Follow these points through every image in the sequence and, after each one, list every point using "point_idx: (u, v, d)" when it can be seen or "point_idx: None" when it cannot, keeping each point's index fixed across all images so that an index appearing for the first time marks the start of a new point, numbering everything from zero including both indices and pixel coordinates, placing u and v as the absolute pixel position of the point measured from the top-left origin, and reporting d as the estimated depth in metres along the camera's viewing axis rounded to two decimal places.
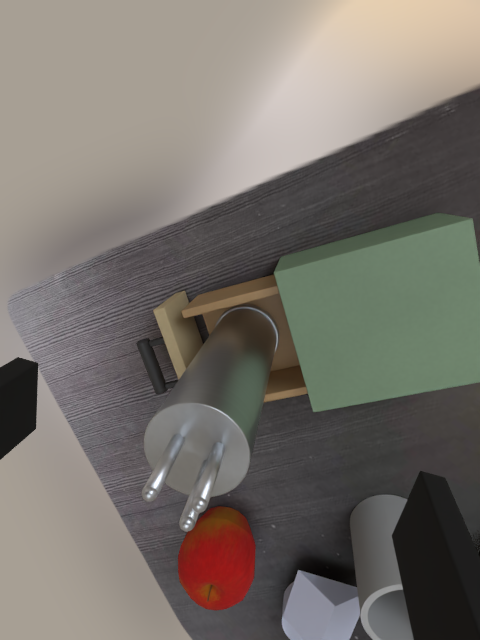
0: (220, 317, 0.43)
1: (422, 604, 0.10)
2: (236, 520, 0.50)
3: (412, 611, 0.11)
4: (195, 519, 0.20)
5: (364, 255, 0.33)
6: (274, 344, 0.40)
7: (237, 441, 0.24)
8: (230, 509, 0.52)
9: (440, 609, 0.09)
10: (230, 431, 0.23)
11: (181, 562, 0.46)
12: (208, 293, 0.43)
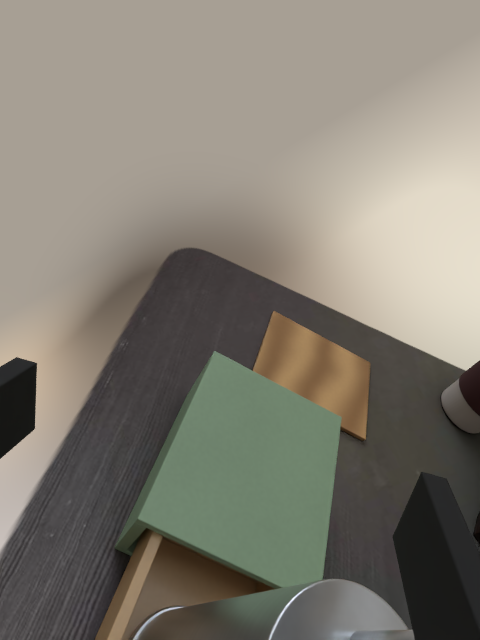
0: None
1: (424, 606, 0.10)
2: None
3: (413, 612, 0.11)
4: None
5: (187, 427, 0.32)
6: None
7: (357, 601, 0.14)
8: None
9: (442, 611, 0.09)
10: (339, 599, 0.14)
11: None
12: None
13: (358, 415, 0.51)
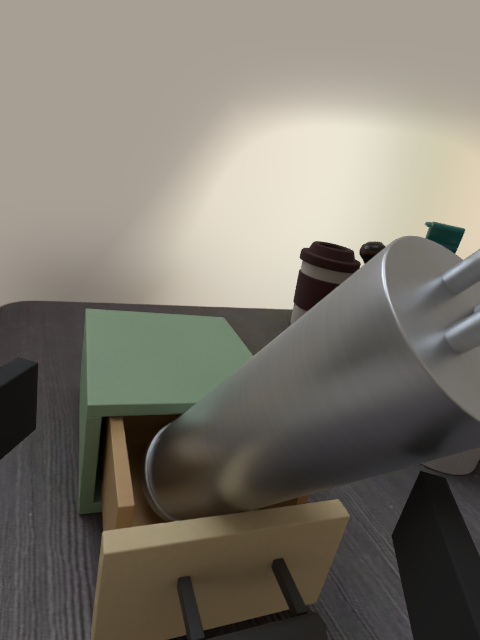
0: (152, 498, 0.24)
1: (422, 604, 0.10)
2: None
3: (412, 611, 0.11)
4: None
5: (94, 348, 0.31)
6: None
7: (435, 251, 0.13)
8: None
9: (440, 609, 0.09)
10: (422, 250, 0.13)
11: None
12: None
13: None
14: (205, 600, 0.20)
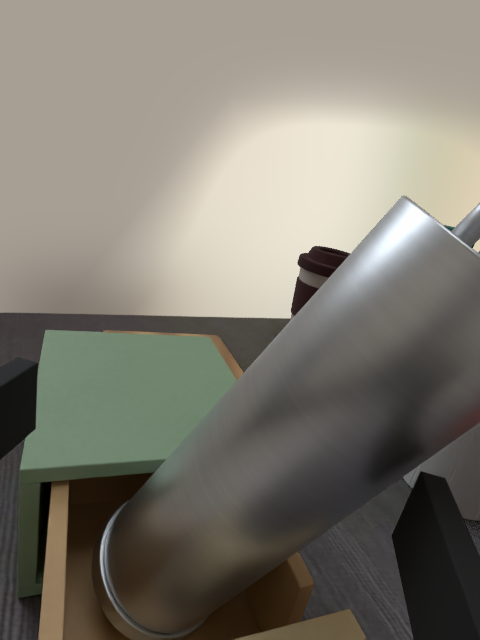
0: (109, 597, 0.18)
1: (422, 604, 0.10)
2: None
3: (412, 611, 0.11)
4: None
5: (46, 384, 0.26)
6: None
7: None
8: None
9: (440, 609, 0.09)
10: None
11: None
12: None
13: (232, 369, 0.50)
14: None
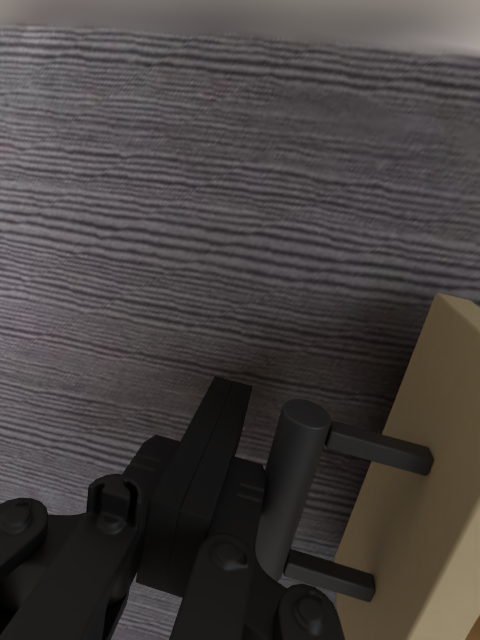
0: None
1: None
2: None
3: None
4: None
5: None
6: None
7: None
8: None
9: None
10: None
11: None
12: None
13: None
14: None
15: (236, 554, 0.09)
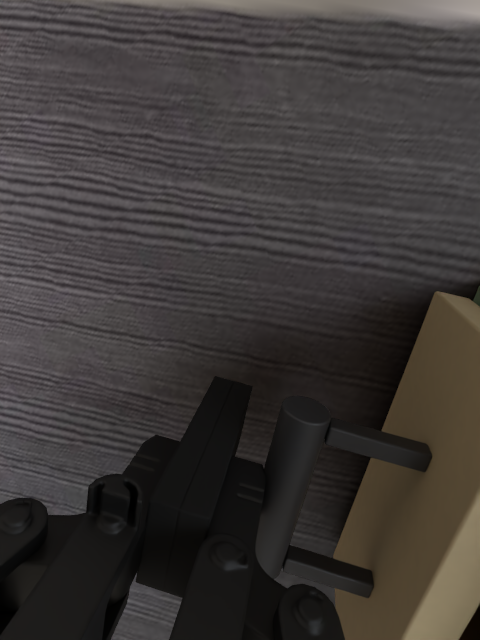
0: None
1: None
2: None
3: None
4: None
5: None
6: None
7: None
8: None
9: None
10: None
11: None
12: None
13: None
14: None
15: (236, 554, 0.09)
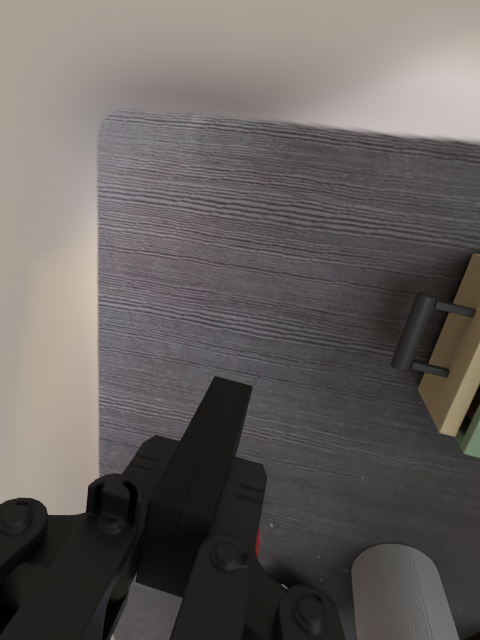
0: None
1: None
2: None
3: None
4: None
5: None
6: None
7: None
8: None
9: None
10: None
11: None
12: None
13: None
14: (457, 323, 0.32)
15: (236, 554, 0.09)
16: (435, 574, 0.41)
